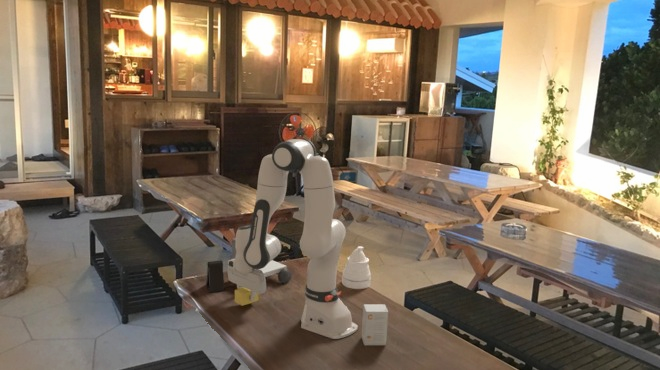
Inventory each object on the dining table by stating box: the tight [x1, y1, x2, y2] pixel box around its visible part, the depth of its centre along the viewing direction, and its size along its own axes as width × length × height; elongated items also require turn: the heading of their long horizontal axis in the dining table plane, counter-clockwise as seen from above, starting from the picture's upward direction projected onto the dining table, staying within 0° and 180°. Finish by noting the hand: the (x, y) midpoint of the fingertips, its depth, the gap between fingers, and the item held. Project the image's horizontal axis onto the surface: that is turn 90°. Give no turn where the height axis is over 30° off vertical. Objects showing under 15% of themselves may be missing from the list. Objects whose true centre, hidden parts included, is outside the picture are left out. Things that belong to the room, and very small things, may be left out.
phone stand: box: [205, 260, 225, 293], centre depth 232 cm, size 9×6×12 cm, turn 25°
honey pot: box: [341, 245, 372, 290], centre depth 245 cm, size 13×13×18 cm
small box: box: [361, 303, 389, 346], centre depth 193 cm, size 8×6×13 cm
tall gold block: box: [234, 287, 259, 306], centre depth 217 cm, size 5×8×5 cm, turn 135°
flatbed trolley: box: [226, 237, 293, 284], centre depth 241 cm, size 22×18×21 cm
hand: (246, 297), depth 217 cm, fingers closed on tall gold block, 5 cm apart
